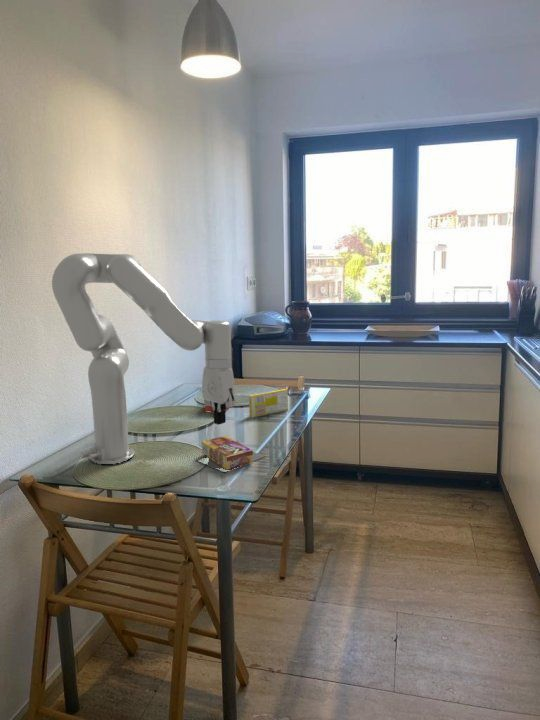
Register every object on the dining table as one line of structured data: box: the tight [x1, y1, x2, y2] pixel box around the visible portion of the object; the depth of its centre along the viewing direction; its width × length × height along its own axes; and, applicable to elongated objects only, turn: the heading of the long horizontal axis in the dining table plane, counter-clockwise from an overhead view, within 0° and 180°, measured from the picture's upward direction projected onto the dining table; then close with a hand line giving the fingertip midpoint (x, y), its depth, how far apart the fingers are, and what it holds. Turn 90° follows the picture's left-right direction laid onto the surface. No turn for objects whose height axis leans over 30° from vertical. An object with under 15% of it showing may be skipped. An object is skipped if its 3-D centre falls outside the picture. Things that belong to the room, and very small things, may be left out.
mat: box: [207, 451, 266, 471], centre depth 161 cm, size 16×12×1 cm
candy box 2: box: [248, 388, 289, 418], centre depth 203 cm, size 16×2×8 cm, turn 122°
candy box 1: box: [201, 435, 254, 470], centre depth 160 cm, size 9×4×15 cm
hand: (219, 423), depth 163 cm, fingers closed
